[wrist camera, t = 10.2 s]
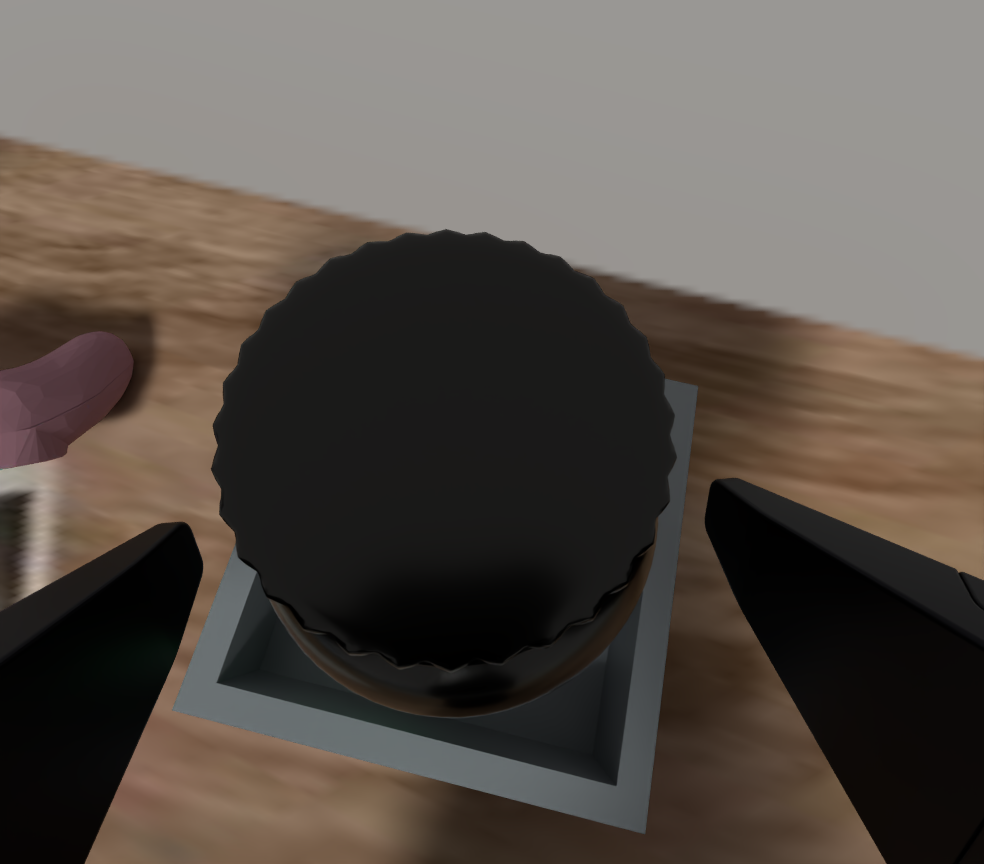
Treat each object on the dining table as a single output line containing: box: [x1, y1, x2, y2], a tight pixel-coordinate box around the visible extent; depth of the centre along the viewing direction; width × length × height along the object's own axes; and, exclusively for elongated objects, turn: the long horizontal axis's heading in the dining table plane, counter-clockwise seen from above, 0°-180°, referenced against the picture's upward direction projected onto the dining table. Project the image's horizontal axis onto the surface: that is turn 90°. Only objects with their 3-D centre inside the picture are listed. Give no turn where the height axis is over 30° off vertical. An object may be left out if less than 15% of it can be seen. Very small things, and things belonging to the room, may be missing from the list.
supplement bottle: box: [211, 229, 677, 718], centre depth 11 cm, size 7×7×12 cm
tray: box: [172, 379, 698, 834], centre depth 16 cm, size 12×12×4 cm
